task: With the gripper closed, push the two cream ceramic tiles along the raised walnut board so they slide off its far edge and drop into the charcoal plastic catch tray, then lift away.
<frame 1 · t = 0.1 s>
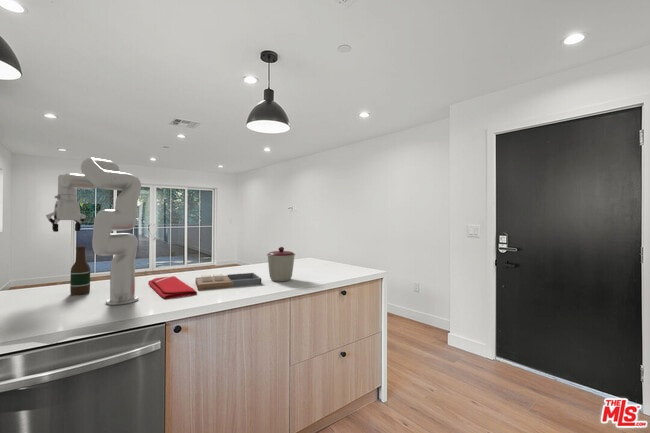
hand: (66, 231, 158), 31 cm above the countertop, tool pointing down, fingers open, 9 cm apart
walnut board: (213, 284, 176), on the countertop
catch tray: (243, 282, 184), on the countertop
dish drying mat: (170, 290, 165), on the countertop
canister: (280, 280, 191), on the countertop
beer bottle: (80, 294, 153), on the countertop
near tile: (206, 280, 174), point 3 cm above the countertop, touching walnut board
far tile: (218, 279, 177), point 3 cm above the countertop, touching walnut board
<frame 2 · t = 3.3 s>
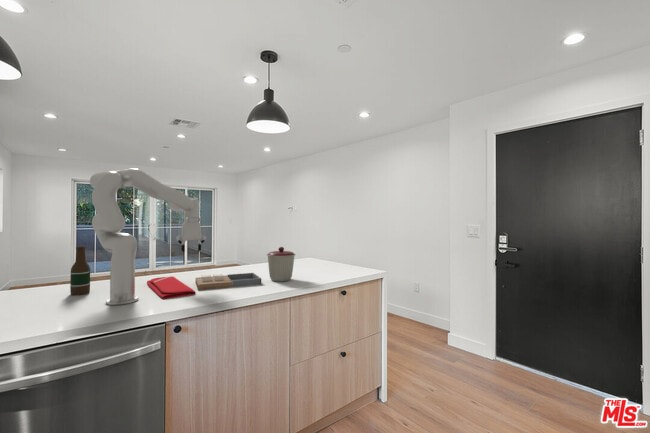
hand: (191, 251, 171), 20 cm above the countertop, tool pointing down, fingers open, 7 cm apart
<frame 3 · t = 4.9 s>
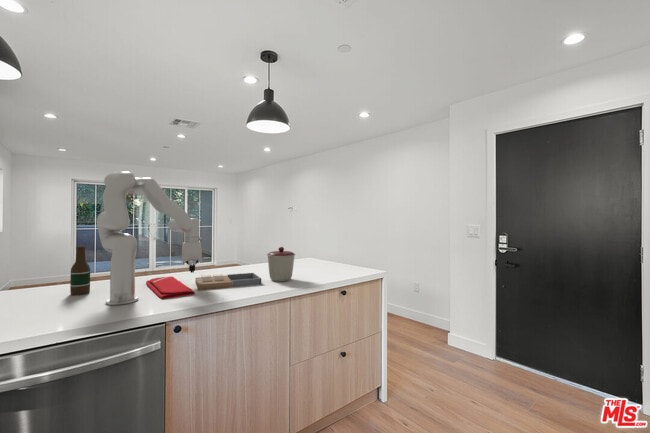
hand: (192, 272, 171), 8 cm above the countertop, tool pointing down, fingers closed
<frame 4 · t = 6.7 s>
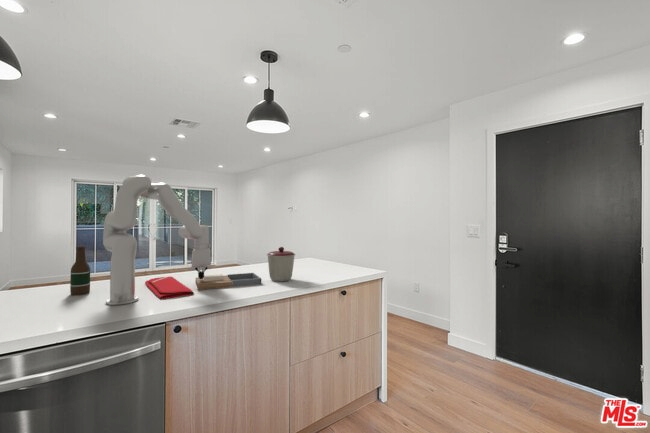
hand: (201, 278, 173), 4 cm above the countertop, tool pointing down, fingers closed
near tile: (208, 280, 175), point 3 cm above the countertop, touching gripper, walnut board
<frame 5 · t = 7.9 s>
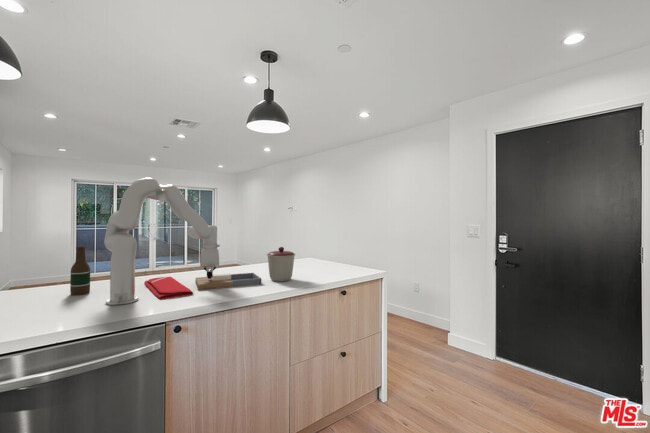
hand: (209, 278, 175), 4 cm above the countertop, tool pointing down, fingers closed
near tile: (217, 279, 177), point 3 cm above the countertop, touching far tile, gripper, walnut board
far tile: (226, 278, 179), point 3 cm above the countertop, touching near tile, walnut board
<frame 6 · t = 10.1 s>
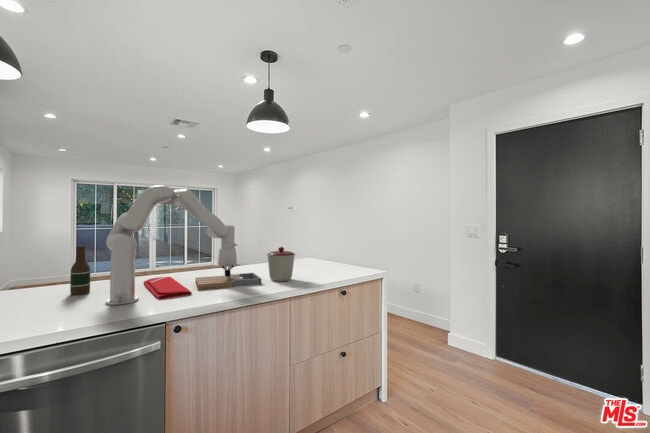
hand: (227, 276, 180), 4 cm above the countertop, tool pointing down, fingers closed
near tile: (234, 278, 181), point 3 cm above the countertop, touching far tile, gripper
far tile: (237, 282, 182), resting on catch tray, touching near tile
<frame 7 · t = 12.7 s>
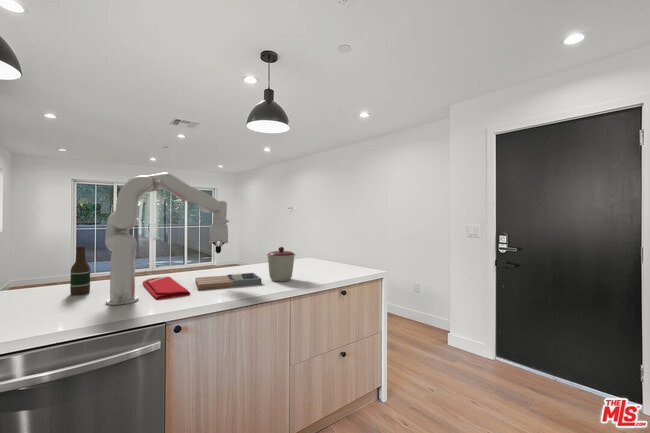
hand: (218, 253, 177), 18 cm above the countertop, tool pointing down, fingers closed
near tile: (236, 278, 182), point 3 cm above the countertop, touching far tile
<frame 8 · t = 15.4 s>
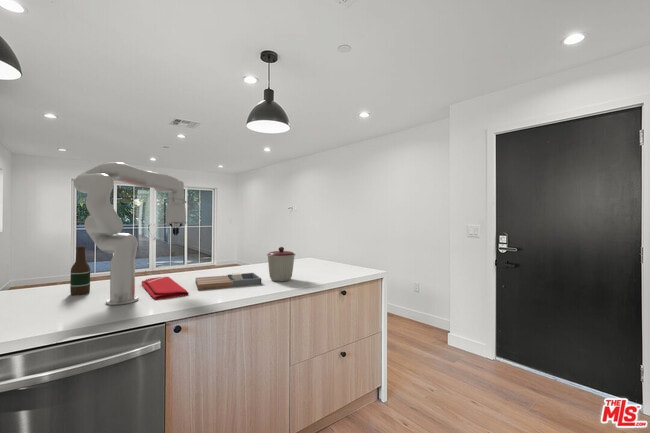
hand: (175, 235, 170), 29 cm above the countertop, tool pointing down, fingers closed
at the end: near tile inside the target area (4.4 cm from its centre), point 3.0 cm above the countertop; far tile inside the target area (3.6 cm from its centre), point 0.5 cm above the countertop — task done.
